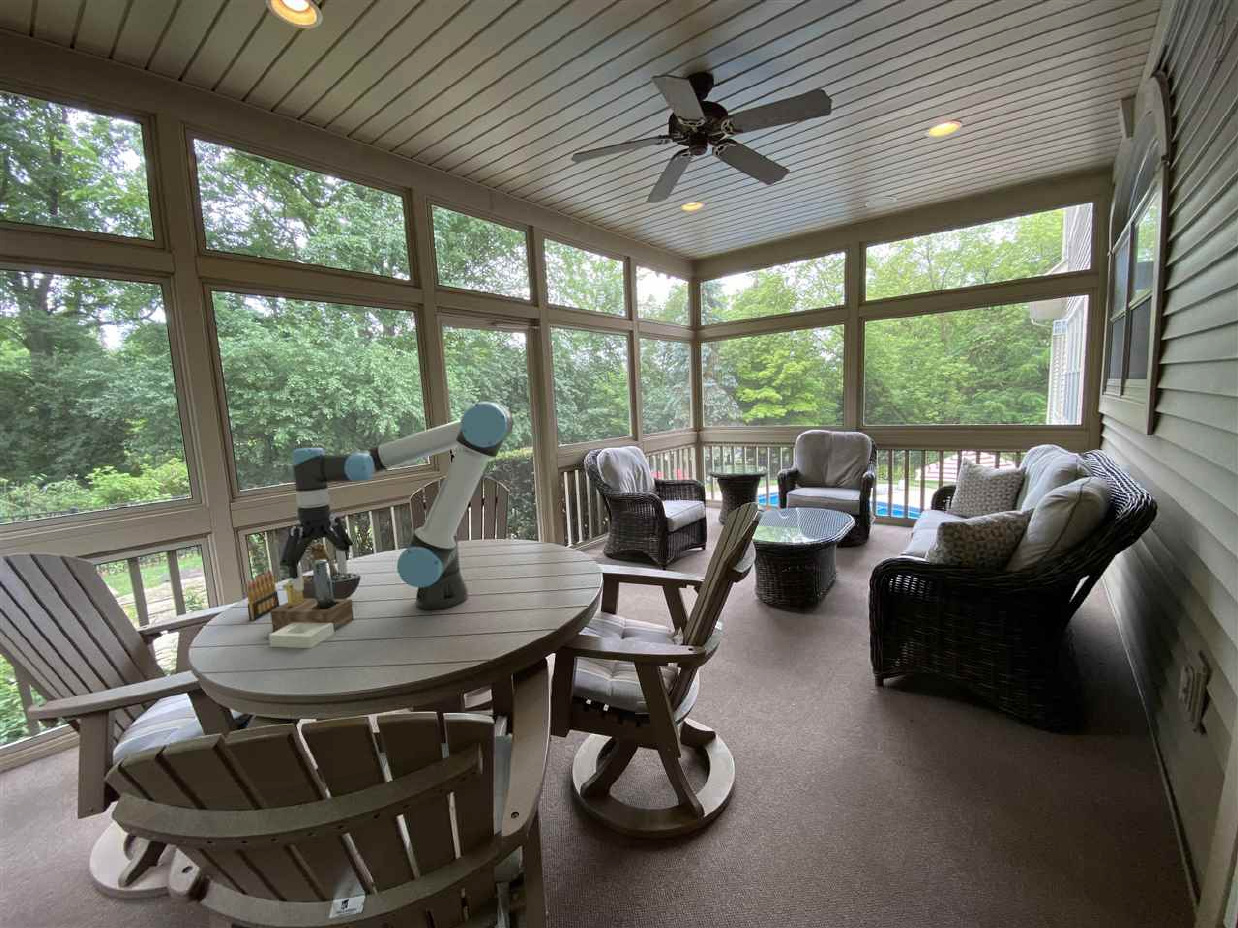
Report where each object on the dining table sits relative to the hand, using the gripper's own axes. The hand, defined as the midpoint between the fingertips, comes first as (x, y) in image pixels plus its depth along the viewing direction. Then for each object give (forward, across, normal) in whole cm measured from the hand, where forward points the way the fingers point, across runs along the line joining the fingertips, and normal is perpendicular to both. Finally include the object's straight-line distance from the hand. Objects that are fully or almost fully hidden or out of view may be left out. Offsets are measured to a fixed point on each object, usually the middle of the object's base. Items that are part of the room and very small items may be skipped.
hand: (321, 580), depth 140 cm
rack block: (+13, +8, +1) cm, 16 cm away
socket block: (+13, +1, -4) cm, 14 cm away
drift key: (+11, +1, -9) cm, 14 cm away
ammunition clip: (+14, -2, -28) cm, 31 cm away
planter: (+13, -13, -14) cm, 24 cm away
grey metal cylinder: (+11, 0, 0) cm, 11 cm away
